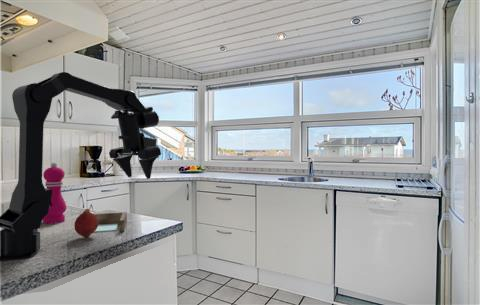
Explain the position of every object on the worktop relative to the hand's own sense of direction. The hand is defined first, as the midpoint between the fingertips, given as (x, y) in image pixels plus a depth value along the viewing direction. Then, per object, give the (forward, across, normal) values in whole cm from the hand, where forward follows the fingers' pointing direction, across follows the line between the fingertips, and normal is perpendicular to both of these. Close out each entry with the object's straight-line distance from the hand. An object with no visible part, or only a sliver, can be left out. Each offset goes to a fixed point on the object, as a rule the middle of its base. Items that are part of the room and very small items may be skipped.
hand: (139, 177), depth 94 cm
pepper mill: (+12, +27, +17) cm, 34 cm away
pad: (+13, +5, +13) cm, 19 cm away
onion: (+11, 0, +21) cm, 24 cm away
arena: (+13, +4, +13) cm, 18 cm away
